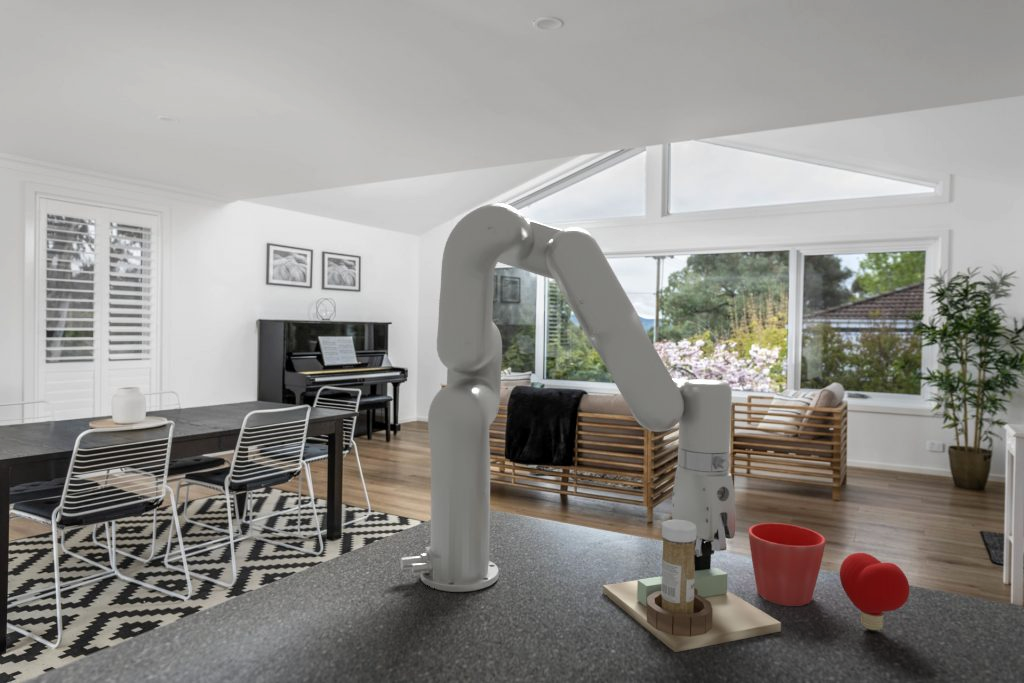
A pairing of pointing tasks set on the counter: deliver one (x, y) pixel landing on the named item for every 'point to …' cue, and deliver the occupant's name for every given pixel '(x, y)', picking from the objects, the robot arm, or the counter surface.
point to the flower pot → (786, 562)
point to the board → (694, 618)
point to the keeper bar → (704, 582)
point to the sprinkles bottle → (678, 566)
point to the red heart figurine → (873, 587)
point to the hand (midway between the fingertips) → (698, 578)
